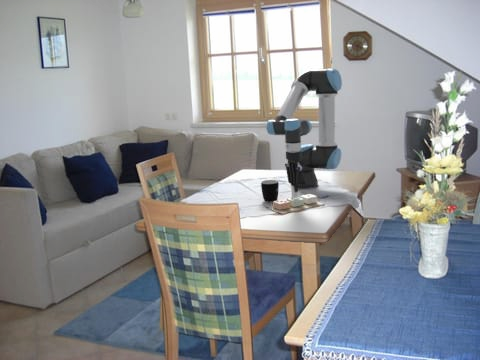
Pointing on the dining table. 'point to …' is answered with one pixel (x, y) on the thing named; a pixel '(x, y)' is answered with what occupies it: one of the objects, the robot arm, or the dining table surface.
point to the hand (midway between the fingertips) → (295, 197)
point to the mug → (270, 190)
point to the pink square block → (281, 204)
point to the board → (297, 207)
